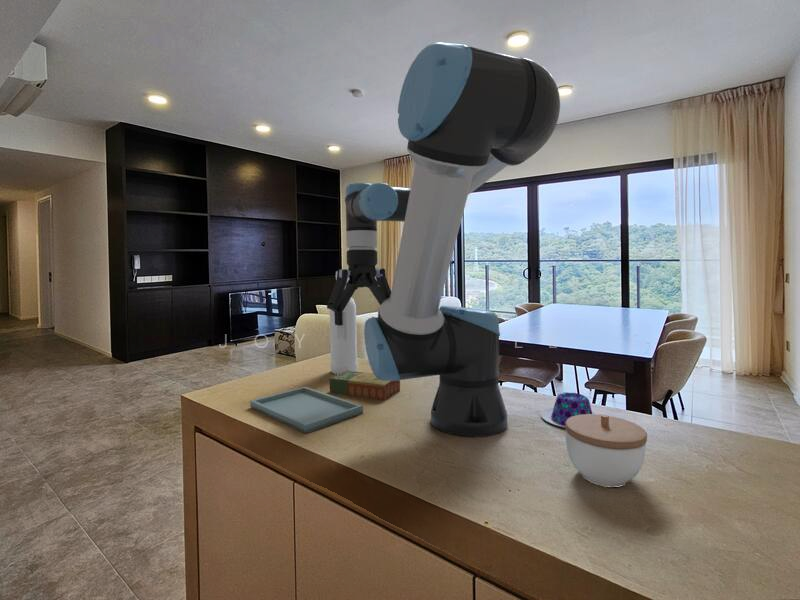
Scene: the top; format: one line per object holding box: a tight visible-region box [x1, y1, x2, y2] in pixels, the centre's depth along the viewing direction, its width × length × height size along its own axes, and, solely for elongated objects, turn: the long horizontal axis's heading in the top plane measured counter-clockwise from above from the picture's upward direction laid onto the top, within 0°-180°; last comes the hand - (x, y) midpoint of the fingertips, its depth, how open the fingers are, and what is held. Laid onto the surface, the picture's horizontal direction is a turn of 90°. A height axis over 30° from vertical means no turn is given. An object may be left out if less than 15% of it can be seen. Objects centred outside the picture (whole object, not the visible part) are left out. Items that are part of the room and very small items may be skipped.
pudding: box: [540, 392, 595, 428], centre depth 84 cm, size 12×12×5 cm
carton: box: [328, 371, 401, 401], centre depth 105 cm, size 8×16×4 cm, turn 64°
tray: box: [249, 386, 364, 434], centre depth 91 cm, size 22×14×2 cm
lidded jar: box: [564, 413, 648, 487], centre depth 61 cm, size 11×11×9 cm
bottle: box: [329, 271, 358, 375], centre depth 123 cm, size 8×8×30 cm
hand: (363, 335), depth 104 cm, fingers open, 13 cm apart
